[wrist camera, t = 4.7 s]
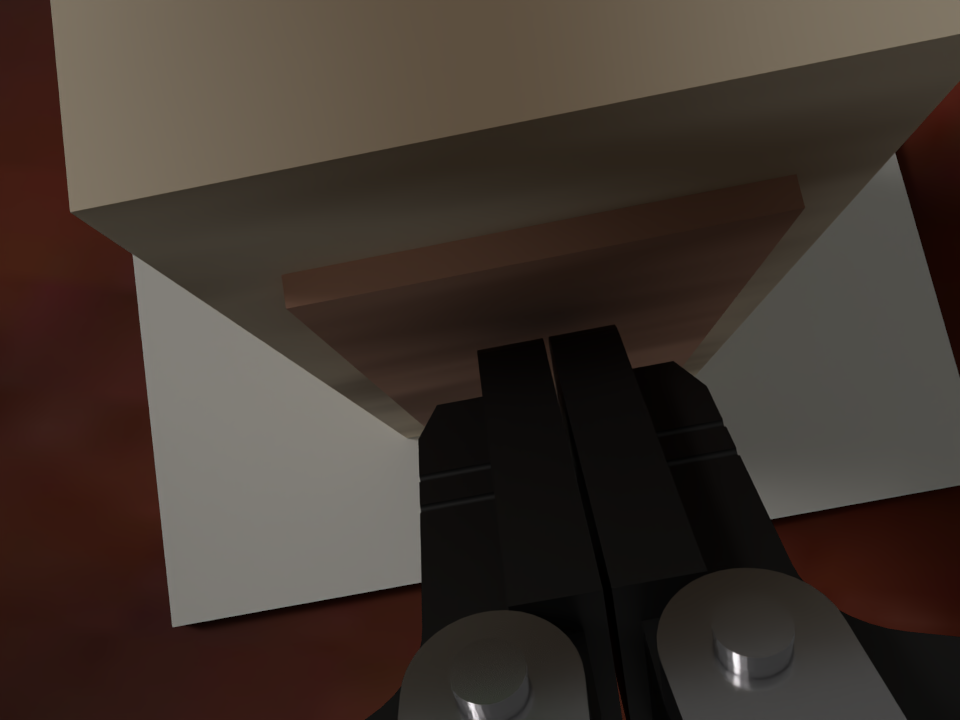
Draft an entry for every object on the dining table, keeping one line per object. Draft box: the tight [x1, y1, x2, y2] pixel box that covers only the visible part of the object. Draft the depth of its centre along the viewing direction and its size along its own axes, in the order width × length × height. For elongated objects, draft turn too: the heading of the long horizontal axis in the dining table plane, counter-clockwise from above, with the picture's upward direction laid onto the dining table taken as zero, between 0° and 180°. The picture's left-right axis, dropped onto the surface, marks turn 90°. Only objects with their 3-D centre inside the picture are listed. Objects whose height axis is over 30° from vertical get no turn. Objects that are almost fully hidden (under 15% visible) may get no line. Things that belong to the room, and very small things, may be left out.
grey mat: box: [133, 153, 960, 627], centre depth 22 cm, size 17×26×1 cm, turn 10°
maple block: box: [50, 0, 960, 438], centre depth 13 cm, size 6×6×14 cm
